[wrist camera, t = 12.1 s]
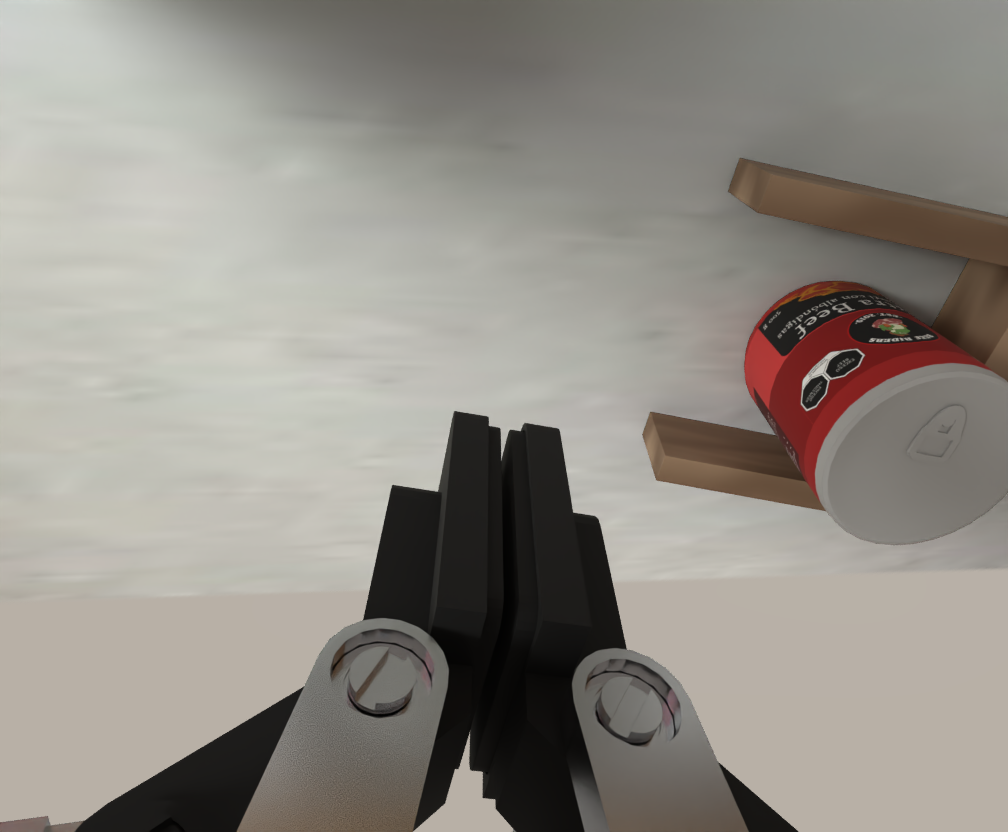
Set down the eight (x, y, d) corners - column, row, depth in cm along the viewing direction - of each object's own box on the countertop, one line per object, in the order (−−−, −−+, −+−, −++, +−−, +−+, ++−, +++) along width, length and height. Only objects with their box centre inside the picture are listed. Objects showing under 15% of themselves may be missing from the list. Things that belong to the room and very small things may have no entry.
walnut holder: (739, 157, 30) (772, 174, 26) (1023, 220, 31) (1095, 245, 27) (642, 434, 37) (656, 480, 33) (875, 478, 38) (915, 527, 34)
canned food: (906, 270, 32) (1068, 364, 23) (874, 412, 36) (1000, 544, 27) (747, 280, 33) (841, 376, 23) (732, 419, 37) (806, 551, 27)
